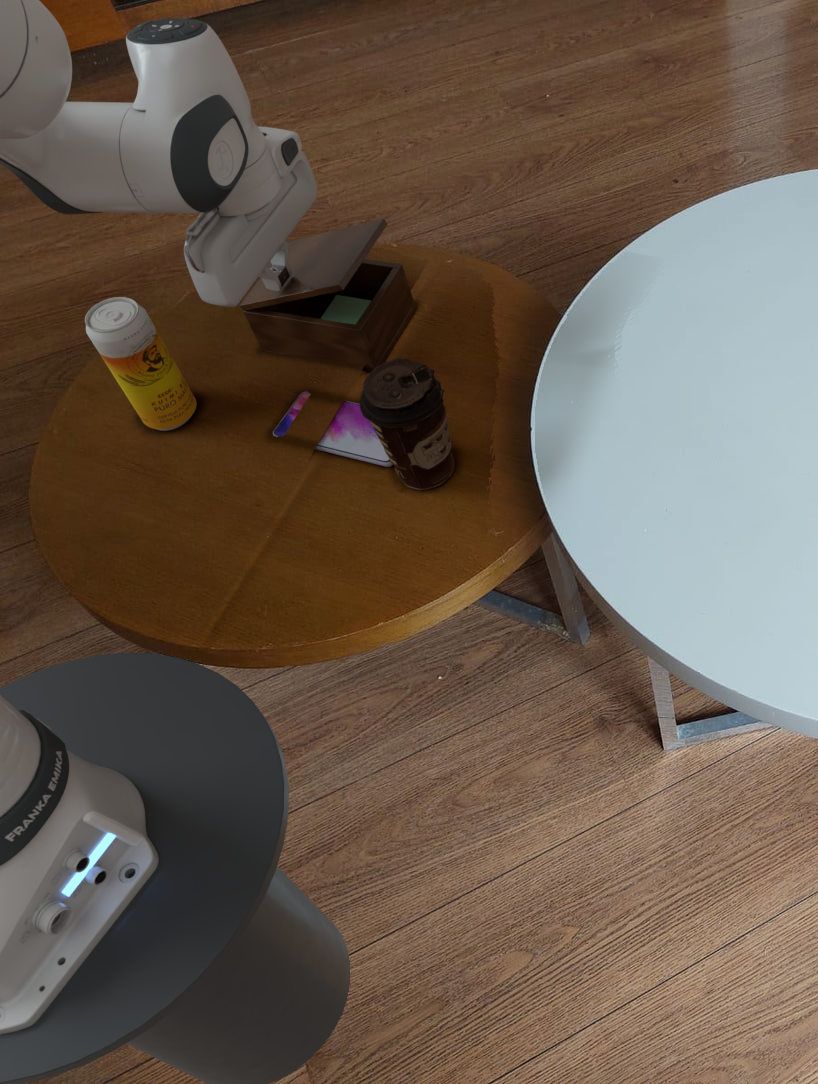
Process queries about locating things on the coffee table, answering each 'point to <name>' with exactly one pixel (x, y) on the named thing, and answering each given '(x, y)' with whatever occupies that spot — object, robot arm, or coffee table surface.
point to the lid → (319, 264)
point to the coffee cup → (410, 421)
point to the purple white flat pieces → (343, 433)
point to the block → (346, 309)
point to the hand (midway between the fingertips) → (280, 282)
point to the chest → (332, 340)
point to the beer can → (140, 362)
